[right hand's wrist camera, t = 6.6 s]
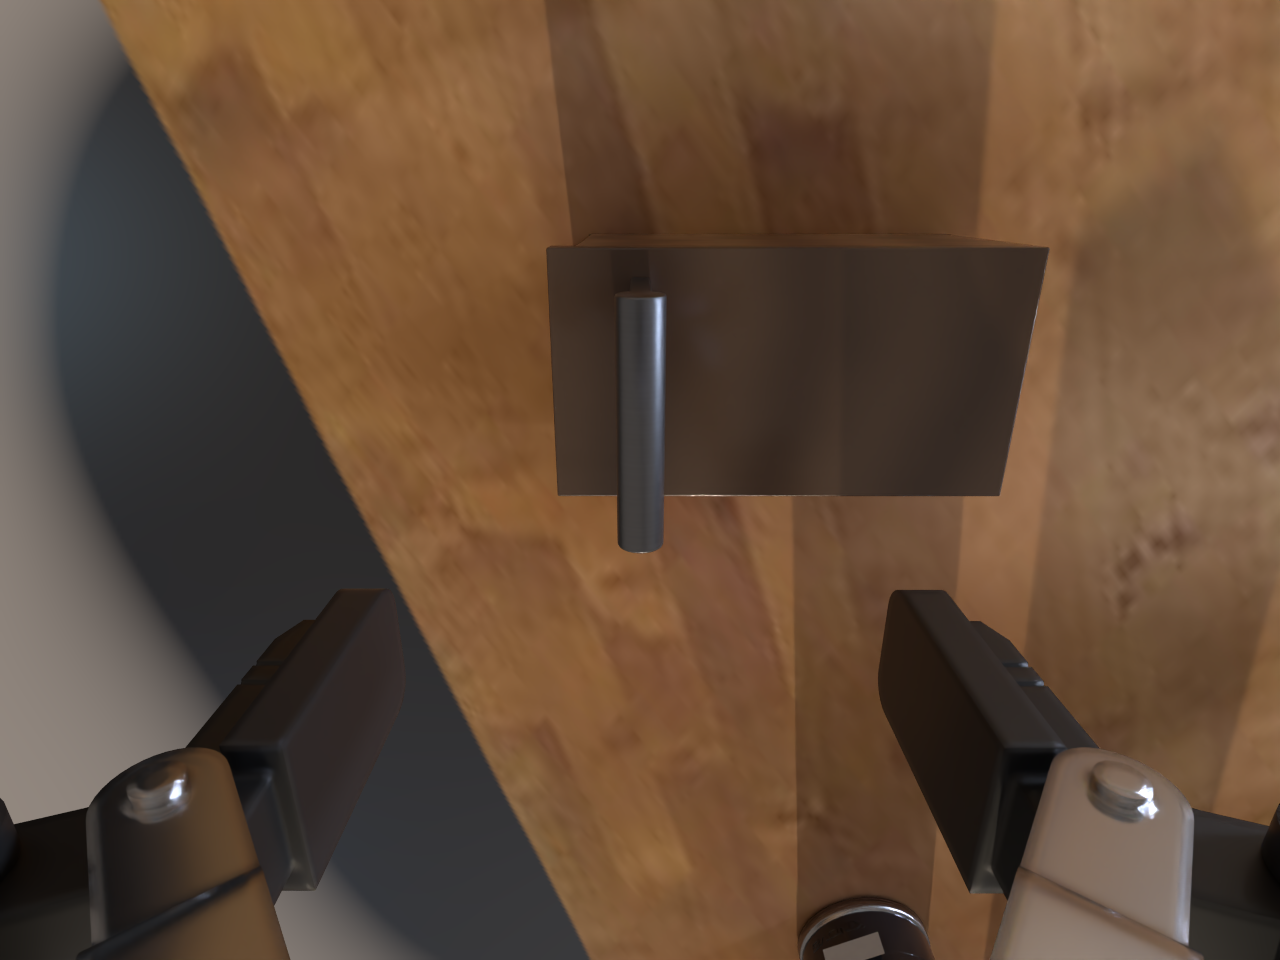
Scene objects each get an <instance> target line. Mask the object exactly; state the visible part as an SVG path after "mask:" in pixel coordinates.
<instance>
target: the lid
mask: <svg viewBox="0 0 1280 960" xmlns="http://www.w3.org/2000/svg"><path fill="white" fill-rule="evenodd" d="M546 252H547V274H548V295H549V317H550V338H551V360H552V381H553V403H554V424H555V446H556V467H557V489H558V496H617V528H618V545H619V546H620V547H621V548H622V549H623V550H625V551H628V552H632V553H649V552H653V551H656V550H658V549H659V548H661V546H662V545H663V529H664V496H1000V492H1001V487H1002V482H1003V477H1004V472H1005V467H1006V462H1007V457H1008V452H1009V447H1010V442H1011V437H1012V432H1013V428H1014V423H1015V418H1016V413H1017V408H1018V403H1019V398H1020V393H1021V388H1022V383H1023V378H1024V373H1025V368H1026V363H1027V358H1028V353H1029V348H1030V343H1031V338H1032V333H1033V328H1034V323H1035V318H1036V313H1037V309H1038V304H1039V299H1040V294H1041V289H1042V284H1043V279H1044V274H1045V269H1046V264H1047V259H1048V254H1049V248H1048V247H1042V246H550V247H548V248H547V249H546Z"/></svg>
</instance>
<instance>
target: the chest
mask: <svg viewBox="0 0 1280 960" xmlns="http://www.w3.org/2000/svg"><path fill="white" fill-rule="evenodd" d="M577 246H1033V245H1025V244H1017V243H1009V242H1001V241H993V240H985V239H977V238H969V237H961V236H953V235H949V234H590V235H589V237H587V238H586V239H585V240H583V241H582V242H581V243H579V244H578V245H577Z"/></svg>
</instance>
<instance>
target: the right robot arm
mask: <svg viewBox="0 0 1280 960" xmlns="http://www.w3.org/2000/svg"><path fill="white" fill-rule="evenodd" d="M878 687H879V695H880V700H881V704H882V708H883V710H884V713H885V715H886V717H887V719H888V721H889V723H890V726H891V728H892V730H893V732H894V734H895V736H896V738H897V740H898V743H899V745H900V747H901V749H902V751H903V753H904V755H905V757H906V759H907V762H908V764H909V766H910V768H911V770H912V772H913V774H914V776H915V778H916V781H917V783H918V785H919V787H920V789H921V791H922V793H923V795H924V797H925V800H926V802H927V804H928V806H929V808H930V810H931V812H932V814H933V816H934V819H935V821H936V823H937V825H938V827H939V829H940V831H941V833H942V835H943V838H944V840H945V842H946V844H947V846H948V848H949V850H950V852H951V854H952V857H953V859H954V861H955V863H956V865H957V867H958V869H959V871H960V873H961V876H962V878H963V880H964V882H965V884H966V886H967V888H968V890H969V892H970V893H1004V895H1005V897H1006V899H1007V901H1008V902H1007V905H1006V908H1005V911H1004V915H1003V918H1002V921H1001V924H1000V928H999V931H998V934H997V938H996V941H995V944H994V947H993V951H992V954H991V957H990V960H1280V804H1279V805H1278V807H1277V810H1276V812H1275V814H1274V817H1273V819H1272V821H1271V824H1270V826H1266V825H1261V824H1257V823H1253V822H1248V821H1244V820H1240V819H1235V818H1231V817H1227V816H1222V815H1218V814H1214V813H1209V812H1205V811H1201V810H1197V809H1193V808H1191V806H1190V804H1189V802H1188V801H1187V799H1186V798H1185V796H1184V795H1183V794H1182V793H1181V792H1180V790H1179V789H1178V788H1177V787H1176V786H1175V785H1173V784H1172V783H1171V782H1170V781H1169V780H1168V779H1166V778H1165V777H1164V776H1162V775H1161V774H1160V773H1158V772H1157V771H1155V770H1153V769H1152V768H1150V767H1149V766H1147V765H1145V764H1143V763H1141V762H1139V761H1137V760H1135V759H1132V758H1130V757H1127V756H1125V755H1122V754H1119V753H1116V752H1112V751H1108V750H1104V749H1099V747H1098V746H1097V745H1096V744H1095V743H1094V741H1093V740H1092V739H1091V738H1090V737H1089V735H1088V734H1087V733H1086V732H1085V731H1084V729H1083V728H1082V727H1081V726H1080V725H1079V723H1078V722H1077V721H1076V720H1075V719H1074V717H1073V716H1072V715H1071V714H1070V713H1069V711H1068V710H1067V709H1066V708H1065V707H1064V705H1063V704H1062V703H1061V702H1060V701H1059V699H1058V698H1057V697H1056V696H1055V695H1054V693H1053V692H1052V691H1051V690H1050V689H1049V687H1048V686H1044V681H1043V680H1042V679H1041V678H1040V677H1039V675H1038V674H1037V673H1036V672H1035V671H1034V669H1033V668H1032V667H1028V662H1027V661H1026V660H1025V659H1024V657H1023V656H1022V655H1021V654H1020V653H1019V651H1018V650H1017V649H1016V648H1015V647H1014V645H1013V644H1012V643H1011V642H1010V641H1009V640H1008V639H1006V638H1005V637H1003V636H1002V635H1000V634H999V633H997V632H996V631H994V630H993V629H991V628H990V627H988V626H987V625H985V624H984V623H982V622H981V621H969V620H968V619H967V618H966V617H965V615H964V614H963V613H962V611H961V610H960V609H959V607H958V606H957V605H956V604H955V602H954V601H953V600H952V598H951V597H950V596H949V595H948V594H947V592H945V591H943V590H895V591H894V592H893V593H892V595H891V597H890V600H889V604H888V610H887V617H886V624H885V631H884V637H883V644H882V651H881V658H880V664H879V672H878ZM404 691H405V666H404V659H403V652H402V645H401V639H400V632H399V625H398V618H397V611H396V605H395V600H394V596H393V594H392V592H391V591H390V590H389V589H340V590H339V591H337V592H336V594H335V595H334V596H333V597H332V599H331V600H330V601H329V603H328V604H327V605H326V607H325V608H324V609H323V611H322V612H321V613H320V614H319V616H318V617H317V618H316V620H303V621H302V622H300V623H299V624H297V625H296V626H294V627H293V628H291V629H289V630H288V631H286V632H285V633H283V634H282V635H280V636H279V637H277V638H276V639H275V640H274V641H273V642H272V643H271V645H270V646H269V647H268V648H267V649H266V651H265V652H264V653H263V654H262V655H261V657H260V658H259V659H258V660H257V665H256V666H252V668H251V669H250V670H249V671H248V672H247V674H246V675H245V676H244V677H243V678H242V682H241V685H237V686H236V687H235V688H234V689H233V691H232V692H231V693H230V694H229V695H228V697H227V698H226V699H225V700H224V702H223V703H222V704H221V705H220V706H219V708H218V709H217V710H216V711H215V712H214V714H213V715H212V716H211V717H210V719H209V720H208V721H207V722H206V723H205V725H204V726H203V727H202V728H201V729H200V731H199V732H198V733H197V734H196V736H195V737H194V738H193V739H192V740H191V742H190V743H189V744H188V745H187V746H186V748H182V749H176V750H172V751H168V752H164V753H161V754H158V755H155V756H153V757H150V758H148V759H145V760H143V761H141V762H139V763H137V764H135V765H133V766H131V767H130V768H128V769H127V770H125V771H123V772H122V773H120V774H119V775H118V776H116V777H115V778H114V779H112V780H111V781H110V782H109V783H108V784H107V785H105V786H104V787H103V788H102V789H101V790H100V792H99V793H98V794H97V795H96V796H95V798H94V799H93V801H92V802H91V804H90V806H89V807H87V808H84V809H79V810H75V811H70V812H66V813H62V814H57V815H53V816H49V817H44V818H40V819H35V820H31V821H27V822H22V823H18V824H13V822H12V819H11V817H10V815H9V813H8V810H7V808H6V806H5V803H4V801H3V800H2V799H1V798H0V960H290V957H289V954H288V951H287V947H286V944H285V941H284V938H283V934H282V931H281V928H280V924H279V921H278V918H277V915H276V911H275V908H274V905H275V903H276V901H277V899H278V897H279V895H280V893H281V891H315V890H316V888H317V886H318V884H319V882H320V880H321V877H322V875H323V873H324V871H325V869H326V867H327V865H328V863H329V860H330V858H331V856H332V854H333V852H334V850H335V847H336V845H337V843H338V841H339V839H340V837H341V835H342V832H343V830H344V828H345V826H346V824H347V822H348V820H349V818H350V815H351V813H352V811H353V809H354V807H355V805H356V803H357V801H358V798H359V796H360V794H361V792H362V790H363V788H364V786H365V783H366V781H367V779H368V777H369V775H370V773H371V771H372V768H373V766H374V764H375V762H376V760H377V758H378V756H379V753H380V751H381V749H382V747H383V745H384V743H385V741H386V738H387V736H388V734H389V732H390V730H391V728H392V726H393V724H394V721H395V719H396V717H397V715H398V713H399V711H400V708H401V705H402V701H403V697H404ZM798 953H799V957H800V960H935V958H934V956H933V953H932V950H931V948H930V942H929V939H928V936H927V934H926V931H925V928H924V926H923V924H922V922H921V920H920V918H919V917H918V916H917V915H916V914H915V913H914V912H913V911H912V910H911V909H909V908H908V907H906V906H904V905H902V904H900V903H898V902H895V901H892V900H888V899H883V898H872V897H865V898H855V899H849V900H845V901H842V902H838V903H836V904H833V905H831V906H829V907H827V908H825V909H823V910H821V911H820V912H818V913H817V914H816V915H815V916H813V917H812V918H811V919H810V920H809V921H808V922H807V924H806V925H805V926H804V928H803V929H802V931H801V933H800V936H799V940H798Z"/></svg>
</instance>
